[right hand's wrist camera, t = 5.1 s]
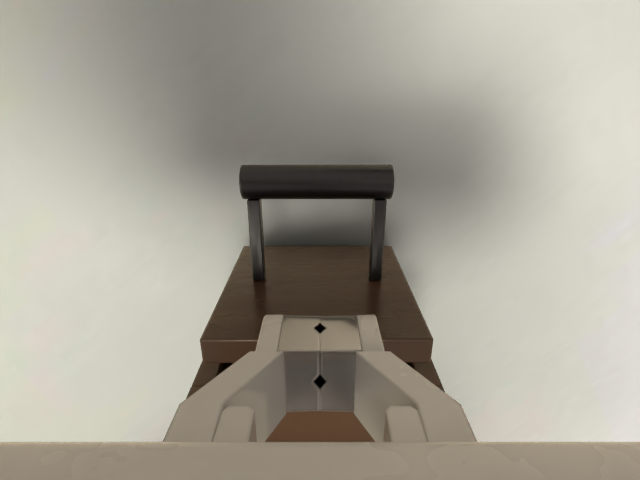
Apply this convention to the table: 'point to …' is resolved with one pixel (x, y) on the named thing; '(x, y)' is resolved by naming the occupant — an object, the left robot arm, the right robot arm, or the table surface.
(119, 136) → the table surface
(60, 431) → the table surface
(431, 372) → the cabinet
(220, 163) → the table surface
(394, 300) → the drawer
